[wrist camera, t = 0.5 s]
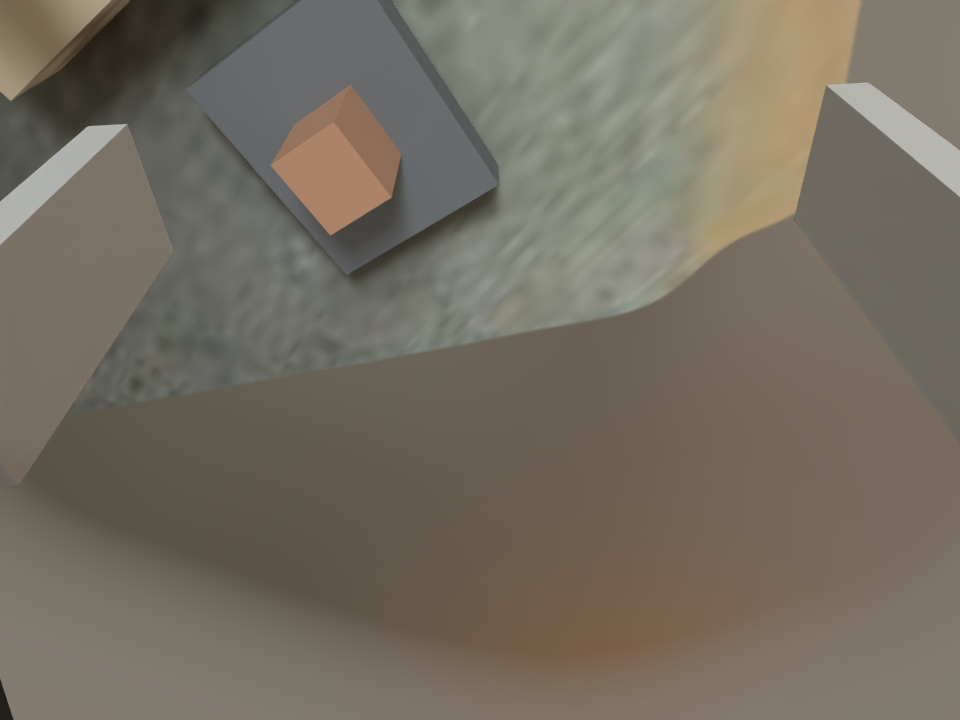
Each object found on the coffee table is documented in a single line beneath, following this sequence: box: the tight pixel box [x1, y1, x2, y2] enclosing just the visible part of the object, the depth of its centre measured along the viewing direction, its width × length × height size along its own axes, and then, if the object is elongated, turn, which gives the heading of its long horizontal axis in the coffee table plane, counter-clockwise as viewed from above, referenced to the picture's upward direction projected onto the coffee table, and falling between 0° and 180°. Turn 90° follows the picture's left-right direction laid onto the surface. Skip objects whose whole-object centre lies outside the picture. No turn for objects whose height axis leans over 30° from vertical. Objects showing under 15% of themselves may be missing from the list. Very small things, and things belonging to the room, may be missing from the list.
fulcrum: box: [186, 0, 499, 275], centre depth 34 cm, size 12×10×8 cm
